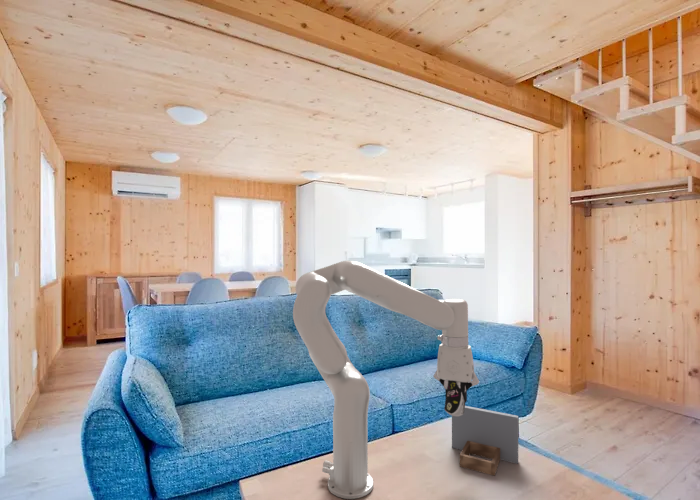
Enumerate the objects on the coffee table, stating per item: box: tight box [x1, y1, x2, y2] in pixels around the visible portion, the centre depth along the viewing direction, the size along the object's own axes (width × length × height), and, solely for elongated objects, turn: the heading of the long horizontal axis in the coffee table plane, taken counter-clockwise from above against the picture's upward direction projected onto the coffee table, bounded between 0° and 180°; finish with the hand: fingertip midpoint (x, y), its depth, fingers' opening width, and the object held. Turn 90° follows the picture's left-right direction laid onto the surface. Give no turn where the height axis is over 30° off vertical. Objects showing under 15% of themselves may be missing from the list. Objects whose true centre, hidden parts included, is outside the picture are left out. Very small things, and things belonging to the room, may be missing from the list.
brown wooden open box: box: [459, 441, 501, 477], centre depth 121 cm, size 10×10×4 cm
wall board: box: [451, 405, 519, 465], centre depth 126 cm, size 20×2×14 cm, turn 61°
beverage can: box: [443, 380, 468, 417], centre depth 118 cm, size 6×6×12 cm
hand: (456, 401), depth 118 cm, fingers closed on beverage can, 3 cm apart
